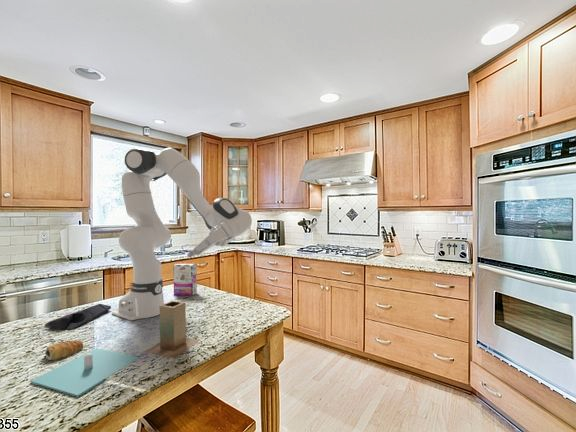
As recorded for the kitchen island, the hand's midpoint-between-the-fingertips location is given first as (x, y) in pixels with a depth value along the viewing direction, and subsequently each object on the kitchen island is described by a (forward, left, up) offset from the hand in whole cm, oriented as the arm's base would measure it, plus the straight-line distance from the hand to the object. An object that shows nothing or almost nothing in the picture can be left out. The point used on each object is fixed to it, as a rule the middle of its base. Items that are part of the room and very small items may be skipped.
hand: (192, 253), depth 103 cm
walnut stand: (+2, -13, -30) cm, 32 cm away
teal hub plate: (-12, -31, -30) cm, 44 cm away
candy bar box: (-33, +36, -30) cm, 57 cm away
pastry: (-29, -27, -30) cm, 50 cm away
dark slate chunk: (-53, -5, -30) cm, 62 cm away
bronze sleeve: (+2, -13, -29) cm, 32 cm away
